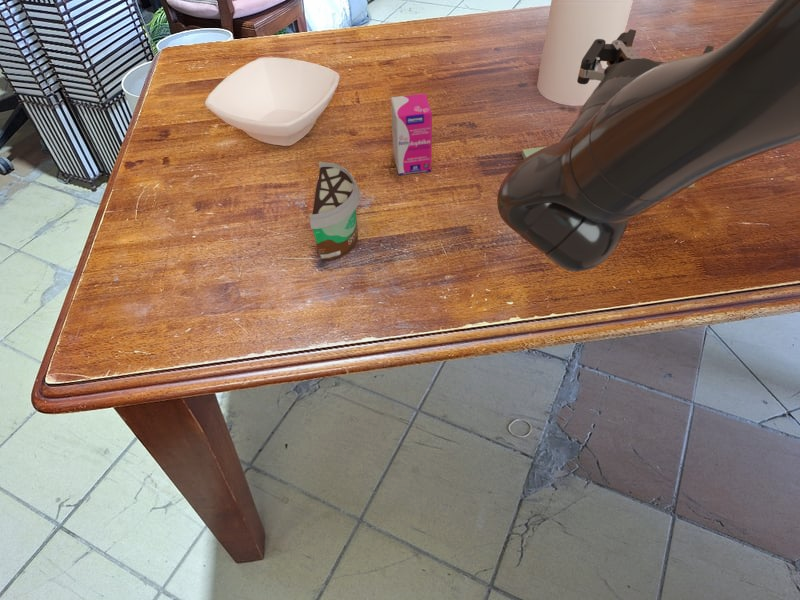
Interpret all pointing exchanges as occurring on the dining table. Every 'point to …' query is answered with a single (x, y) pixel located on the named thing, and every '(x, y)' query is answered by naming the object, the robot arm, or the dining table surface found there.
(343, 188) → the food container
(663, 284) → the dining table surface
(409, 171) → the supplement box
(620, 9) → the canister
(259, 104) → the bowl
